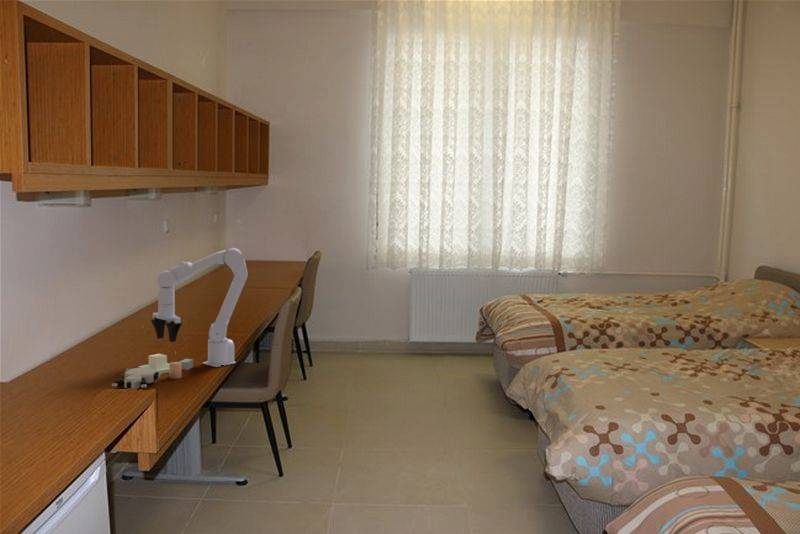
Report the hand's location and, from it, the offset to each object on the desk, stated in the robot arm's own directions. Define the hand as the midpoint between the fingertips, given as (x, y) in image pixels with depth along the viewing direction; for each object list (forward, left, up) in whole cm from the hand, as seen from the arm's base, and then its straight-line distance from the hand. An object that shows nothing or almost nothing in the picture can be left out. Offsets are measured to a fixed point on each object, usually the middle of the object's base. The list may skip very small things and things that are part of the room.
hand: (166, 339), depth 262 cm
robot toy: (+23, +17, -10) cm, 30 cm away
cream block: (+7, +5, -9) cm, 12 cm away
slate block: (-2, +9, -10) cm, 13 cm away
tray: (+7, +5, -9) cm, 12 cm away
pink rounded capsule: (+8, +17, -10) cm, 21 cm away
